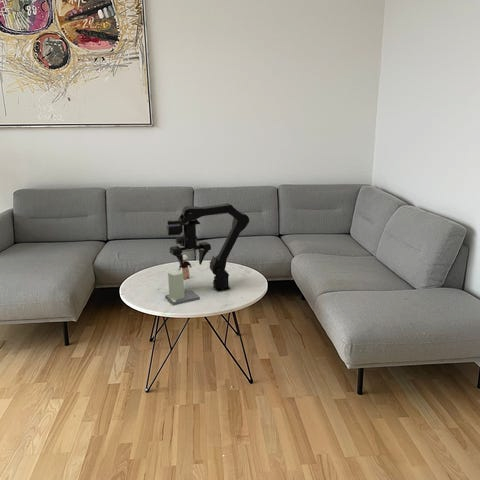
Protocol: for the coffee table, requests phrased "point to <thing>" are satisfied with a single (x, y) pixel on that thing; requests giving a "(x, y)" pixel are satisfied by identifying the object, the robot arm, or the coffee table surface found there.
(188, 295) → the board
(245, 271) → the coffee table surface
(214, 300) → the coffee table surface
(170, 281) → the sage block
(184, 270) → the grandmother figurine
